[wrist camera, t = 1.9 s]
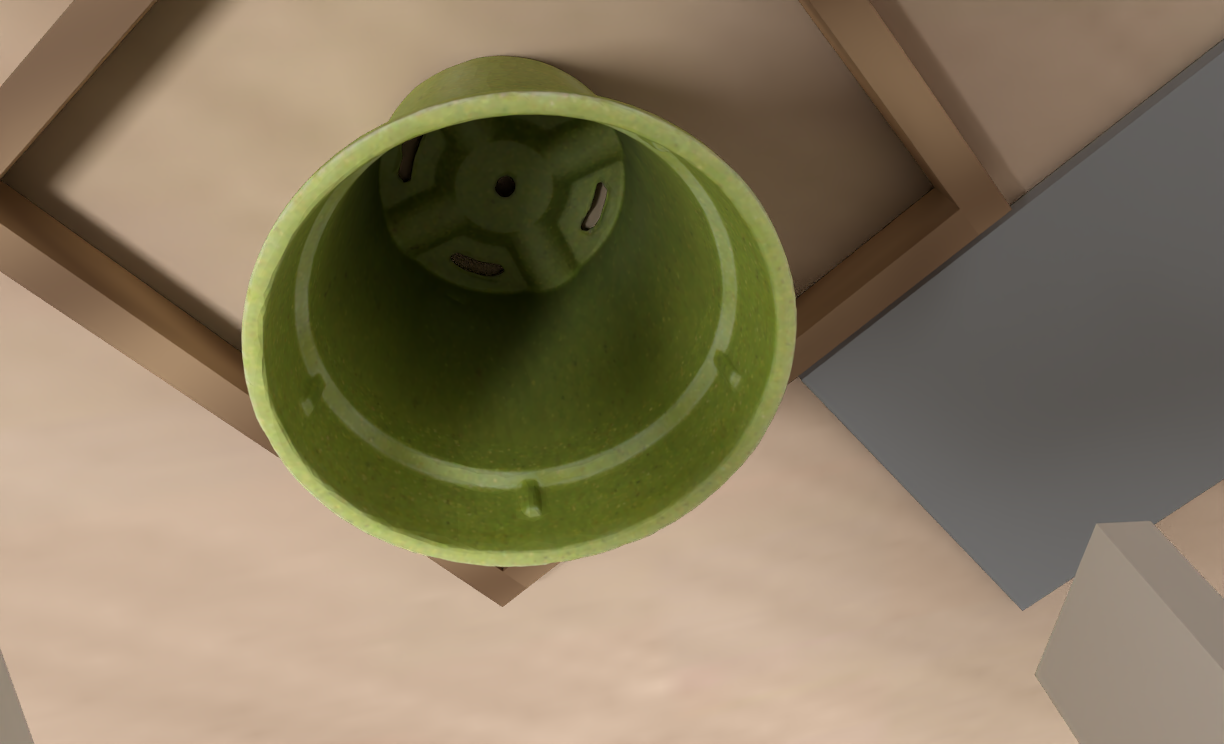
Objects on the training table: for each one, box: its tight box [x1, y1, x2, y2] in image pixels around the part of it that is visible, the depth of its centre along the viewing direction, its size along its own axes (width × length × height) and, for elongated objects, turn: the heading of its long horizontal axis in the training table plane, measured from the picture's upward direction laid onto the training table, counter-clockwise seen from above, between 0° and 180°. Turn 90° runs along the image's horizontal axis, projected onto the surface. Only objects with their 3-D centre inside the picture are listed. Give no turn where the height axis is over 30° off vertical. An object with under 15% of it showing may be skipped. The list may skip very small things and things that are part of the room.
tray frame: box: [0, 0, 1012, 607], centre depth 23 cm, size 18×18×2 cm
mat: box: [799, 39, 1224, 611], centre depth 30 cm, size 14×14×1 cm
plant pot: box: [241, 56, 797, 567], centre depth 20 cm, size 9×9×9 cm
